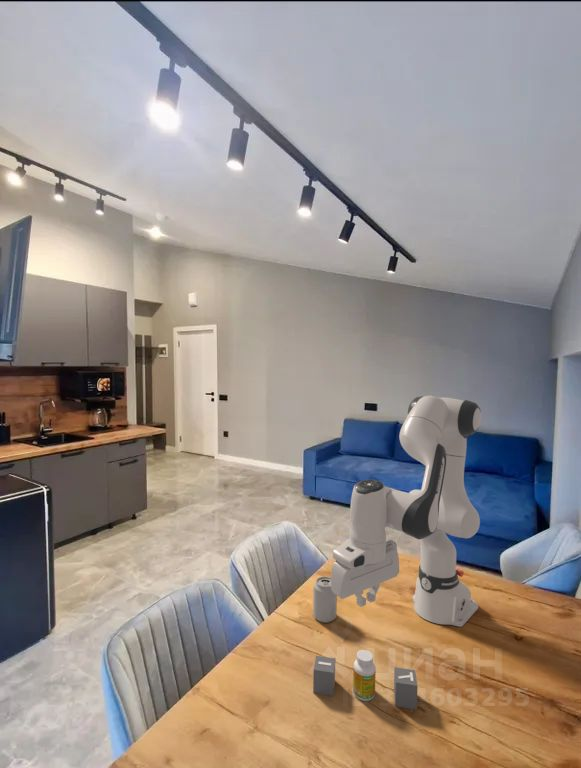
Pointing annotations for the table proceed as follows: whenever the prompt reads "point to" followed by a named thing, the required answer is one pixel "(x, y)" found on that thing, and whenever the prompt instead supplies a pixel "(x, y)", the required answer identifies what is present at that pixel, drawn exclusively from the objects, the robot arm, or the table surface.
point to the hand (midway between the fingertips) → (366, 602)
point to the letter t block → (405, 688)
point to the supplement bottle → (364, 676)
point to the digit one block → (324, 675)
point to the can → (324, 600)
